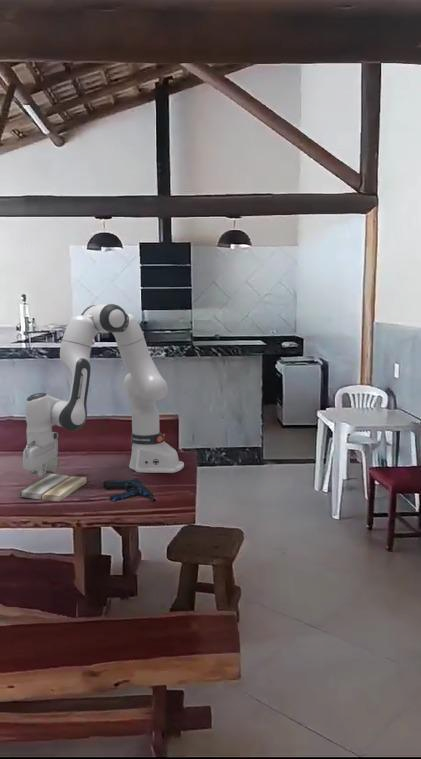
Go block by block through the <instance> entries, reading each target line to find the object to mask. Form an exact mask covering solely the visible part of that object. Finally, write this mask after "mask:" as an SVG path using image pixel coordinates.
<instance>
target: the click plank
mask: <svg viewBox="0 0 421 759" xmlns="http://www.w3.org/2000/svg"><path fill="white" fill-rule="evenodd" d="M68 477H69V475H64V474H58V473H57V474H56V473H47V475H46V474H45V475H44V476H42V477H41V478H39V479H38V480H36V481H35V482H32V483H31V484H30V485H28V486H26V487H24V488H23V489H22V490H19V497H20V498H26V499H34V500H42V494H43V493H44V492H46V491H48V490H49V489H51V488H52V487H54V486H55V485H57V484H58V483H60V482H61V481H63V480H65V479H66V478H68Z"/></svg>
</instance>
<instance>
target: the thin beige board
mask: <svg viewBox="0 0 421 759" xmlns="http://www.w3.org/2000/svg"><path fill="white" fill-rule="evenodd" d="M68 476H69V475H68ZM86 483H87V477H84V476H74V475H73V476H71V475H70V476H69V477H68V478H66V479H65V480H63V481H61V482H60V483H58V484H57V485H55V486H54V487H52V488H51V489H49V490H48V491H46V492H44V493H43V494H42V499H41V500H42V501H51V502H52V501H53V502H61V501H62V500H64V499H65V498H67V497H68V496H69V495H71V494H72V493H73V492H76V491H77V490H78V489H80V488H81V487H82V486H84V485H86Z"/></svg>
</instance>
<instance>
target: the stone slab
mask: <svg viewBox="0 0 421 759" xmlns="http://www.w3.org/2000/svg"><path fill="white" fill-rule="evenodd" d="M58 466H59V458H58V457H57V456H56V457H54V458H53V459H51V460H49V461H47V467H46V474H56V473H57V471H58ZM30 472H31V474H36V475H38V474H37V470H36V469H34V470H30Z"/></svg>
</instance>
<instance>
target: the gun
mask: <svg viewBox="0 0 421 759" xmlns="http://www.w3.org/2000/svg"><path fill="white" fill-rule="evenodd" d="M103 487H104V488H105V490H106V491H107V490H108V491H110V490H125V491H126V492H121V493H117V494H116V493H114V494H112V495H109V500H110V501H112V502H118V500H119V501H121V500H125V499H129V498H133V497H137V495H138V496H140V497H144V498H147V499H149V500H150V501H151V502H153V501H155V502H156V501H157V499H156V498H155V497H154V494H153V492H152V491H150V490H149V488H147V487H146V485H144V484H143V483H142V481H141V480H140V479H138V478H133V479H127V480H119V479H118V480H117V479H115V480H113V479H112V480H110V479H109V480H105V481H103Z"/></svg>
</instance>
